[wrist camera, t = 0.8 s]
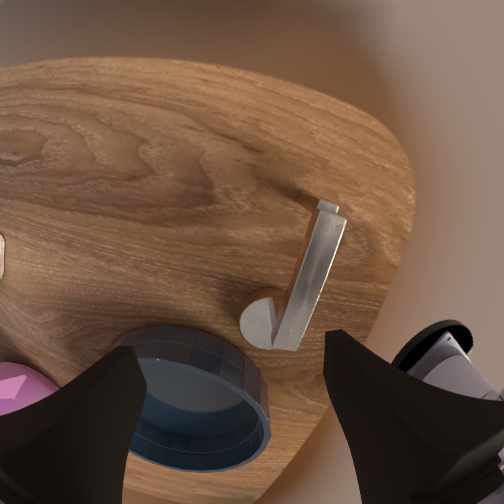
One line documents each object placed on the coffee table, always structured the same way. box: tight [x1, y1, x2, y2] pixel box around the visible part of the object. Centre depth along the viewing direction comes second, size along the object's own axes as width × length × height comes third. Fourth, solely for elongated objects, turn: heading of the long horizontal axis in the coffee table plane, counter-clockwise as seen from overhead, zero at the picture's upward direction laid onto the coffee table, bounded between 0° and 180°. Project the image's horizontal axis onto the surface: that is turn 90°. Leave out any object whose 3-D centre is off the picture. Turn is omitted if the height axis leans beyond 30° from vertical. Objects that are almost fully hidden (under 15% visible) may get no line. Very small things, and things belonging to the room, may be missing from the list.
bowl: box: [107, 325, 271, 473], centre depth 19 cm, size 14×14×4 cm
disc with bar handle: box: [239, 191, 347, 352], centre depth 15 cm, size 10×4×6 cm, turn 164°
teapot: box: [0, 362, 60, 416], centre depth 17 cm, size 22×16×12 cm
